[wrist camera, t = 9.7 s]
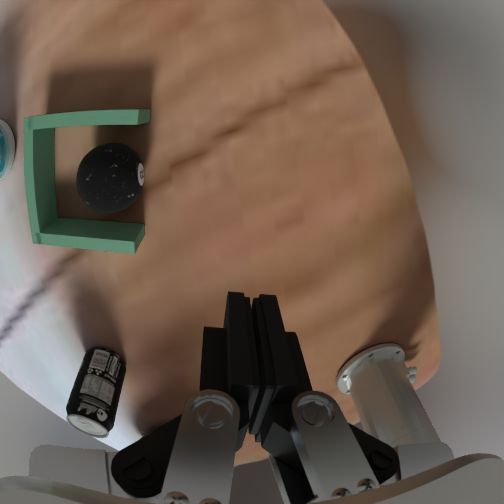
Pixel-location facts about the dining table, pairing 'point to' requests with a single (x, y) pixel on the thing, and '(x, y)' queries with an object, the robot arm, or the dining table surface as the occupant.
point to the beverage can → (96, 393)
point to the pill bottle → (6, 149)
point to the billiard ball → (110, 178)
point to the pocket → (44, 194)
